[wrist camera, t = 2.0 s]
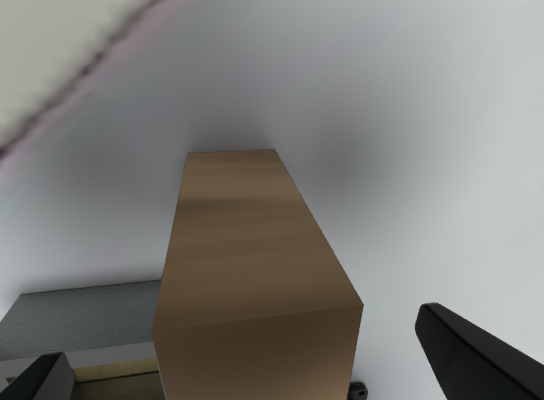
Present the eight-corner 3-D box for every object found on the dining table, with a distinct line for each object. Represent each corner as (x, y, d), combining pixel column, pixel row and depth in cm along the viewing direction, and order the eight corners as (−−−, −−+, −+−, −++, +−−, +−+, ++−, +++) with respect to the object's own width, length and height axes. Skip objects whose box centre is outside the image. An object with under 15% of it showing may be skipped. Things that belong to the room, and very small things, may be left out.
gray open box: (197, 373, 21) (194, 440, 18) (65, 393, 20) (34, 469, 16) (183, 277, 17) (176, 338, 14) (20, 294, 16) (-33, 365, 13)
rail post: (273, 222, 17) (342, 422, 8) (196, 228, 16) (178, 452, 7) (274, 149, 15) (363, 304, 6) (187, 153, 14) (151, 331, 6)
